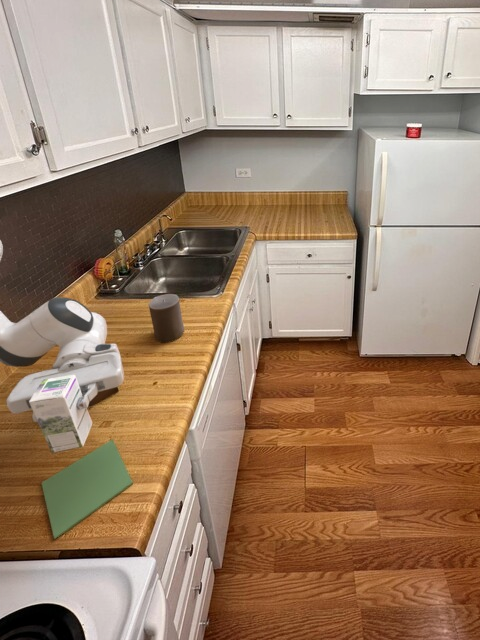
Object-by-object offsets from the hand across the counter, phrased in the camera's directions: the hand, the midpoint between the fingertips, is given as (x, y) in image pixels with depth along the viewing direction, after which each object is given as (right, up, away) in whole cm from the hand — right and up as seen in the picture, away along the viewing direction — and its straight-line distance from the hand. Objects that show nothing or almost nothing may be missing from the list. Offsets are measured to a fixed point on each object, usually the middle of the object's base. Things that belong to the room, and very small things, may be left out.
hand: (60, 412), depth 65 cm
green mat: (0, -20, +7) cm, 21 cm away
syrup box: (0, -8, +4) cm, 9 cm away
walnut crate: (-16, -11, +30) cm, 36 cm away
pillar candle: (-2, -2, +54) cm, 54 cm away
